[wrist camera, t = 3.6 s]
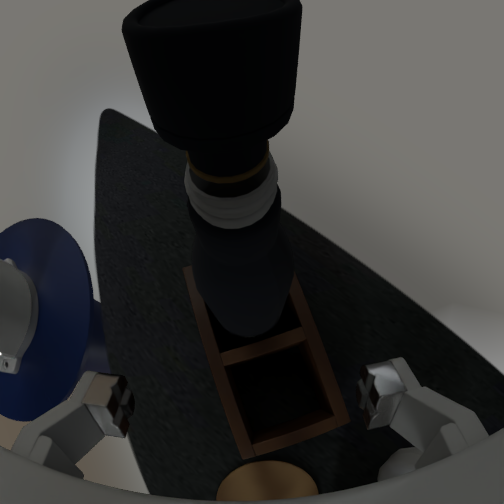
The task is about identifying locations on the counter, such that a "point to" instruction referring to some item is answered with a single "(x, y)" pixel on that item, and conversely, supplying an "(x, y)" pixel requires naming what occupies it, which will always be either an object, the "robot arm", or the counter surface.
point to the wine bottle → (225, 140)
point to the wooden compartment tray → (300, 335)
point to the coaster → (266, 482)
